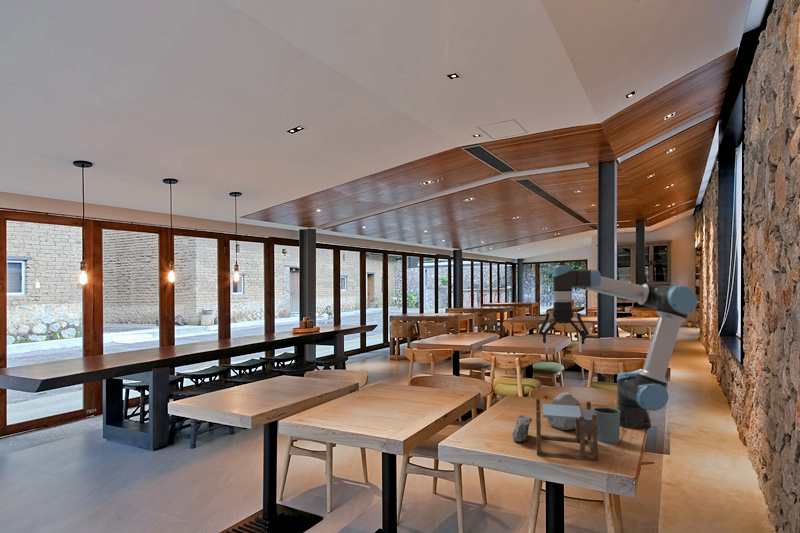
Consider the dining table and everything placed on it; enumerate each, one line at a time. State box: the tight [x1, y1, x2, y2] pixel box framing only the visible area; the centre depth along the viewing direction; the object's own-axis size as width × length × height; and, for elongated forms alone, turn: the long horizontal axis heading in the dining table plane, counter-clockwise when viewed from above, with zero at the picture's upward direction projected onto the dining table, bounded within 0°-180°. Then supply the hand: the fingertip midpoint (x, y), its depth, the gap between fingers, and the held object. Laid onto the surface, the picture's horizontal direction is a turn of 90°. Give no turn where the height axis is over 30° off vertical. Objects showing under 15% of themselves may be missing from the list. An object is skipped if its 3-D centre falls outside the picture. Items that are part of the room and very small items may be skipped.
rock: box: [511, 414, 533, 443], centre depth 195 cm, size 16×8×10 cm, turn 151°
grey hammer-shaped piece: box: [542, 403, 598, 435], centre depth 183 cm, size 19×17×6 cm
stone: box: [546, 392, 583, 431], centre depth 210 cm, size 12×12×15 cm
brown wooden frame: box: [535, 397, 599, 461], centre depth 184 cm, size 21×21×16 cm
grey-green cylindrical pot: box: [592, 406, 621, 444], centre depth 193 cm, size 10×10×12 cm
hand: (563, 351), depth 203 cm, fingers open, 13 cm apart
